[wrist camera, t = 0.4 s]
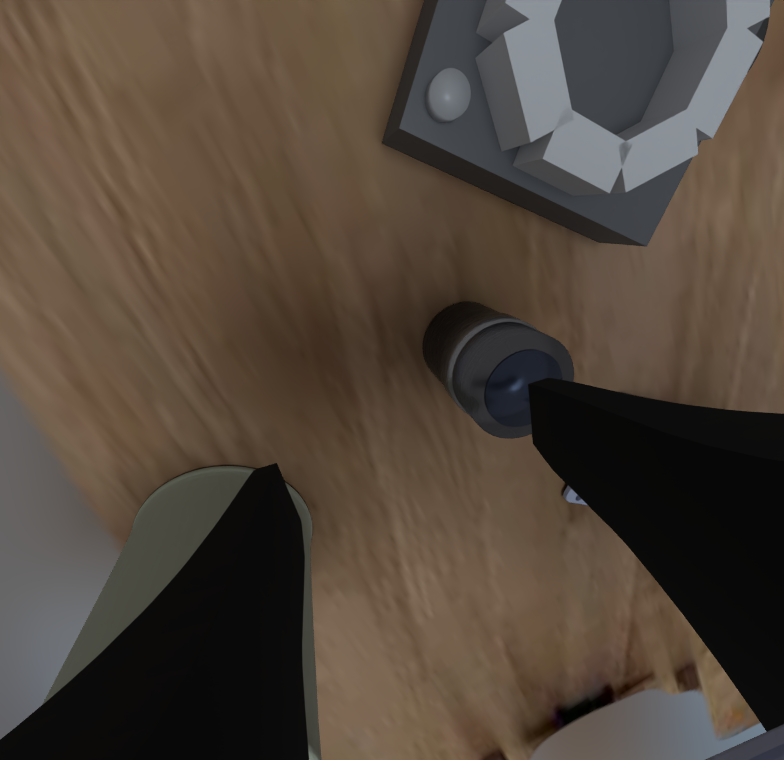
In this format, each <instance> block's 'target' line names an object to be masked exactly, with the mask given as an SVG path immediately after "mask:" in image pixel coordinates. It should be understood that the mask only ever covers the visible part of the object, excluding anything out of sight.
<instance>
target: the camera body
mask: <svg viewBox="0 0 784 760" xmlns="http://www.w3.org/2000/svg"><path fill="white" fill-rule="evenodd" d="M773 2H774V0H424V3H423V6H422V9H421V13H420V16H419V20H418V23H417V26H416V30H415V33H414V36H413V40H412V43H411V46H410V50H409V53H408V57H407V60H406V63H405V67H404V70H403V73H402V77H401V80H400V84H399V87H398V90H397V94H396V97H395V100H394V104H393V107H392V111H391V114H390V117H389V121H388V124H387V127H386V131H385V134H384V138H383V141H382V143H383V144H385V145H387V146H389V147H392V148H394V149H396V150H398V151H400V152H403V153H405V154H407V155H409V156H411V157H413V158H416V159H418V160H420V161H422V162H424V163H427V164H429V165H431V166H433V167H435V168H438V169H440V170H442V171H444V172H446V173H448V174H451V175H453V176H455V177H457V178H459V179H462V180H464V181H466V182H468V183H470V184H473V185H475V186H477V187H479V188H481V189H483V190H486V191H488V192H490V193H492V194H494V195H497V196H499V197H501V198H503V199H505V200H508V201H510V202H512V203H514V204H516V205H518V206H521V207H523V208H525V209H527V210H529V211H532V212H534V213H536V214H538V215H540V216H542V217H545V218H547V219H549V220H551V221H553V222H556V223H558V224H560V225H562V226H564V227H567V228H569V229H571V230H573V231H575V232H577V233H580V234H582V235H584V236H586V237H588V238H591V239H593V240H595V241H597V242H600V243H612V244H624V245H636V246H647V245H648V243H649V241H650V239H651V237H652V235H653V233H654V231H655V229H656V227H657V225H658V223H659V221H660V220H661V218H662V216H663V214H664V212H665V210H666V208H667V206H668V204H669V202H670V200H671V198H672V196H673V194H674V193H675V191H676V189H677V187H678V185H679V183H680V181H681V179H682V177H683V175H684V173H685V171H686V169H687V167H688V166H689V164H690V162H691V160H692V158H693V156H695V155H697V154H698V146H699V144H700V142H701V140H707V139H712V138H713V137H714V135H715V133H716V131H717V129H718V127H719V125H720V123H721V121H722V119H723V118H724V116H725V114H726V112H727V110H728V108H729V106H730V104H731V102H732V100H733V99H734V97H735V95H736V93H737V91H738V89H739V87H740V85H741V83H742V81H743V79H744V78H745V76H746V74H747V72H748V70H749V68H750V66H751V64H752V62H753V60H754V59H755V57H756V55H757V53H758V51H759V49H760V47H761V45H762V43H763V41H762V40H760V39H759V38H758V37H757V36H756V34H757V32H758V30H759V29H760V27H761V25H762V23H763V21H764V19H765V18H767V17H769V16H770V7H771V5H772V3H773Z"/></svg>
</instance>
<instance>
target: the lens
mask: <svg viewBox="0 0 784 760" xmlns="http://www.w3.org/2000/svg"><path fill="white" fill-rule="evenodd" d="M423 356H424V359H425V362H426V364H427V366H428V368H429V369H430V370H431V372H432V373H433V374H434V375H435V376H436V377H437V378H438V380H439V381H440V382H441V383H442V384H443V386H444V388H445V390H446V391H447V393H448V394H449V395H450V397H451V398H452V399H453V400H454V401H455V402H456V404H457V405H458V406H459V407H460V408H461V409H462V410H463V411H464V412H466V413H467V414H469V415H470V416H471V417H472V418H473V419H474V421H475V422H476V423H477V424H478V425H479V426H480V427H481V428H482V429H483V430H484V431H486V432H487V433H489V434H491V435H493V436H496V437H500V438H519V437H523V436H527V435H529V434H532V425H531V414H530V402H529V390H528V384H529V383H533V382H536V381H539V380H542V379H545V378H554V379H561V380H566V381H571V382H573V379H574V368H573V363H572V359H571V357H570V354H569V353H568V351H567V349H566V348H565V347H564V346H563V345H562V344H561V343H560V342H559V341H557V340H556V339H554V338H552V337H550V336H548V335H546V334H544V333H542V332H540V331H538V330H537V329H536V328H535V327H533V326H532V325H530V324H528V323H526V322H524V321H522V320H520V319H518V318H515V317H513V316H511V315H508V314H504V313H499V312H497V311H495V310H493V309H491V308H488V307H486V306H484V305H482V304H480V303H476V302H459V303H456V304H453V305H450V306H448V307H447V308H445V309H443V310H442V311H441V312H439V313H438V314H437V315H436V316H435V317H434V319H433V320H432V321H431V323H430V324H429V326H428V328H427V330H426V332H425V335H424V339H423Z"/></svg>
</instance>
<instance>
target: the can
mask: <svg viewBox="0 0 784 760" xmlns="http://www.w3.org/2000/svg"><path fill="white" fill-rule="evenodd" d="M254 470H256V469H252V468H247V467H240V466H215V467H208V468H203V469H199V470H195V471H191V472H188V473H185V474H183V475H181V476H178V477H176V478H174V479H172V480H171V481H169V482H167V483H166V484H164V485H163V486H161V487H160V488H159V489H157V490H156V491H155V492H154V493H153V494H152V495H151V496H150V497H149V498H148V499H147V500H146V501H145V502H144V504H143V505H142V507H141V508H140V510H139V511H138V513H137V515H136V517H135V520H134V523H133V526H132V531H131V534H130V536H129V538H128V540H127V542H126V544H125V546H124V548H123V550H122V552H121V554H120V556H119V558H118V560H117V562H116V564H115V566H114V568H113V570H112V572H111V574H110V576H109V578H108V580H107V582H106V584H105V586H104V588H103V590H102V592H101V594H100V595H99V597H98V599H97V601H96V603H95V605H94V607H93V609H92V611H91V613H90V615H89V617H88V618H87V620H86V622H85V624H84V626H83V628H82V630H81V632H80V634H79V636H78V638H77V640H76V641H75V643H74V645H73V647H72V649H71V651H70V653H69V655H68V657H67V659H66V661H65V662H64V664H63V666H62V668H61V670H60V672H59V674H58V676H57V678H56V680H55V682H54V684H53V685H52V687H51V689H50V691H49V693H48V695H47V697H46V699H45V701H44V703H45V702H46V701H47V700H49V699H50V698H51V697H52V696H53V695H54V694H56V693H57V692H58V691H59V690H60V689H61V688H63V687H64V686H65V685H66V684H67V683H68V682H69V681H70V680H72V679H73V678H74V677H75V676H76V675H77V674H78V673H79V672H80V671H82V670H83V669H84V668H85V667H86V666H87V665H88V664H89V663H90V662H92V661H93V660H94V659H95V658H96V657H97V656H98V655H99V654H100V653H101V652H102V651H103V650H104V649H105V648H106V647H107V646H108V645H109V644H110V643H111V642H112V641H113V640H114V639H115V638H116V637H117V636H118V635H119V634H120V633H121V632H122V631H124V630H125V629H126V628H127V627H128V626H129V625H130V624H131V623H132V622H133V621H134V620H135V619H136V618H137V617H138V616H139V615H140V614H141V613H142V612H143V611H144V610H145V609H146V608H147V607H148V605H149V604H150V603H151V602H152V601H153V600H154V599H155V598H156V597H157V596H158V595H159V593H160V592H161V591H162V590H163V589H164V588H165V587H166V586H167V585H168V584H169V582H170V581H171V580H172V579H173V578H174V577H175V576H176V574H177V573H178V572H179V571H180V570H181V569H182V567H183V566H184V565H185V564H186V562H187V561H188V560H189V559H190V557H191V556H192V555H193V553H194V552H195V551H196V550H197V548H198V547H199V546H200V544H201V543H202V542H203V541H204V539H205V538H206V537H207V535H208V534H209V533H210V531H211V530H212V529H213V528H214V526H215V525H216V523H217V522H218V521H219V519H220V518H221V516H222V515H223V513H224V512H225V511H226V509H227V508H228V506H229V505H230V503H231V502H232V501H233V499H234V498H235V496H236V495H237V493H238V492H239V490H240V489H241V487H242V486H243V484H244V483H245V481H246V480H247V479H248V477H249V476H250V474H251V473H252V472H253V471H254ZM285 484H286V486H287V488H288V491H289V493H290V495H291V498H292V500H293V502H294V505H295V507H296V509H297V512H298V514H299V516H300V519H301V522H302V531H303V540H304V552H305V573H304V606H303V637H302V665H303V681H304V697H305V712H306V725H307V738H308V750H309V760H321V748H320V735H319V722H318V704H317V685H316V666H315V648H314V629H313V607H312V584H311V548H310V545H311V540H312V519H311V515H310V512H309V510H308V508H307V506H306V504H305V502H304V501H303V499H302V498H301V496H300V495H299V494H298V493H297V492H296V491H295V490H294V489H293V488H292V487H291V486H290V485H288V484H287V483H286V482H285ZM44 703H43V704H44Z"/></svg>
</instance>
